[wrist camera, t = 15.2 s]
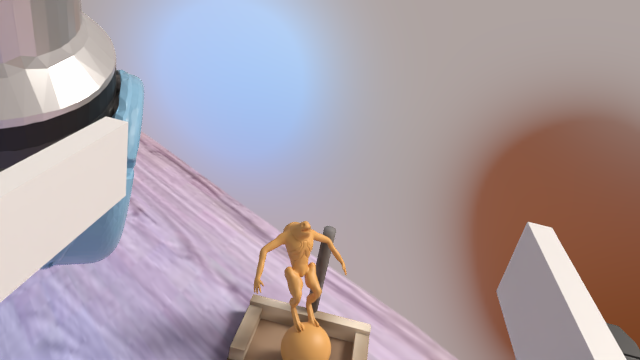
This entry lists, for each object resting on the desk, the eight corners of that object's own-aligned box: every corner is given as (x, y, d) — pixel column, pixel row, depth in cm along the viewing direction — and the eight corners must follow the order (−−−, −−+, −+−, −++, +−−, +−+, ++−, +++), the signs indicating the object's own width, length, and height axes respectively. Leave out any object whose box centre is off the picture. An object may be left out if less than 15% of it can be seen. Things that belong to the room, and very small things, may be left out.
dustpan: (193, 436, 33) (208, 314, 29) (251, 308, 46) (267, 210, 42) (352, 481, 32) (392, 362, 28) (366, 338, 45) (395, 242, 41)
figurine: (268, 401, 35) (280, 248, 32) (235, 354, 40) (243, 217, 37) (359, 369, 40) (379, 232, 37) (320, 331, 45) (334, 206, 41)
